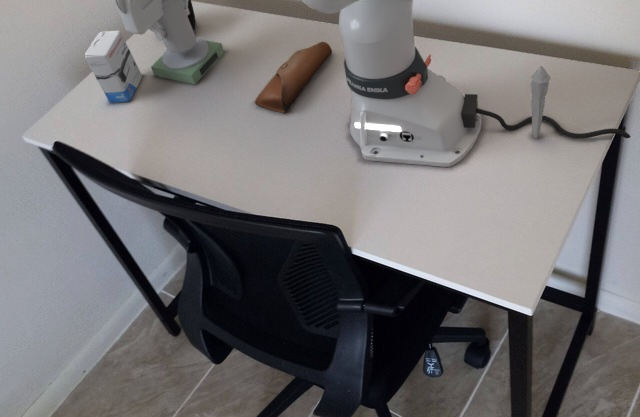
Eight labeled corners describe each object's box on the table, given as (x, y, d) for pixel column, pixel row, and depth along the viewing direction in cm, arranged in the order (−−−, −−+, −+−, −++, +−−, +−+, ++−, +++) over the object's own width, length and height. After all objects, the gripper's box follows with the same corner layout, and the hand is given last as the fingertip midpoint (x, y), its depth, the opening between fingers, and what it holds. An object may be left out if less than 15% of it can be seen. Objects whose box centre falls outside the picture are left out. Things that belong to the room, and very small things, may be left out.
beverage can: (192, 54, 131) (170, 2, 122) (163, 56, 133) (139, 5, 124) (201, 36, 135) (181, -16, 126) (173, 37, 136) (151, -14, 128)
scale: (225, 52, 137) (221, 40, 135) (196, 84, 132) (191, 73, 130) (184, 45, 142) (180, 33, 140) (154, 76, 137) (149, 64, 135)
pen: (535, 128, 106) (540, 58, 95) (548, 136, 104) (555, 65, 94) (524, 136, 105) (528, 66, 95) (537, 144, 103) (542, 74, 93)
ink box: (130, 102, 132) (105, 54, 124) (108, 103, 133) (82, 56, 125) (143, 75, 138) (120, 28, 129) (122, 77, 139) (98, 30, 130)
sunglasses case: (297, 48, 132) (305, 26, 127) (326, 66, 132) (335, 45, 127) (251, 104, 123) (258, 83, 117) (282, 124, 123) (291, 104, 117)
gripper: (125, -5, 113) (155, 60, 124) (191, -64, 124) (214, 0, 134) (99, -9, 116) (130, 55, 126) (166, -66, 127) (190, -3, 137)
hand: (174, 26), depth 130 cm, fingers closed on beverage can, 6 cm apart
